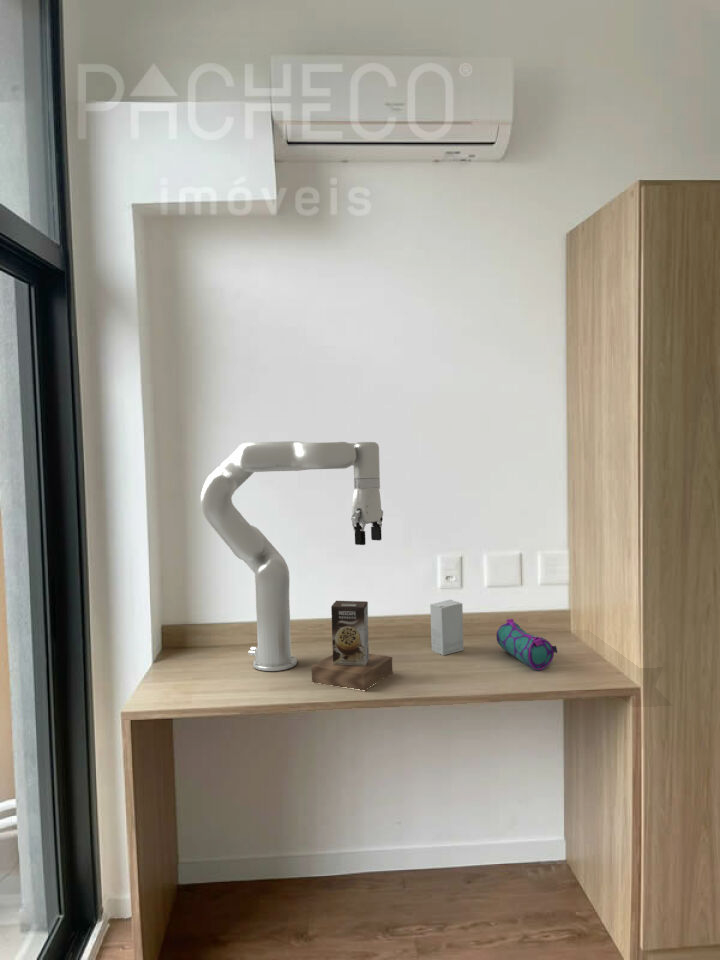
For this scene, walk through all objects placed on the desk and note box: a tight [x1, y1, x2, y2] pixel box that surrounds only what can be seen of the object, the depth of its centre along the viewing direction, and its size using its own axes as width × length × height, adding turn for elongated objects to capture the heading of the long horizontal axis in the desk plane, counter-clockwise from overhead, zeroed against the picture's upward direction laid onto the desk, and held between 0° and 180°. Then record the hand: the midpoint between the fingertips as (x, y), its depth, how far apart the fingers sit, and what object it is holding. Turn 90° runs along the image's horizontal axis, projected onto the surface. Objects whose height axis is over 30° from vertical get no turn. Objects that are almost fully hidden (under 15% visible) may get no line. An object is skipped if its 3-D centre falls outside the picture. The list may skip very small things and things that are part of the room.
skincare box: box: [430, 599, 464, 656], centre depth 213 cm, size 8×6×15 cm
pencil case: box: [496, 618, 558, 672], centre depth 203 cm, size 21×9×10 cm, turn 15°
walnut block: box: [311, 653, 393, 691], centre depth 191 cm, size 16×16×5 cm
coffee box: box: [330, 600, 370, 666], centre depth 190 cm, size 9×6×16 cm
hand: (368, 542), depth 207 cm, fingers open, 9 cm apart
